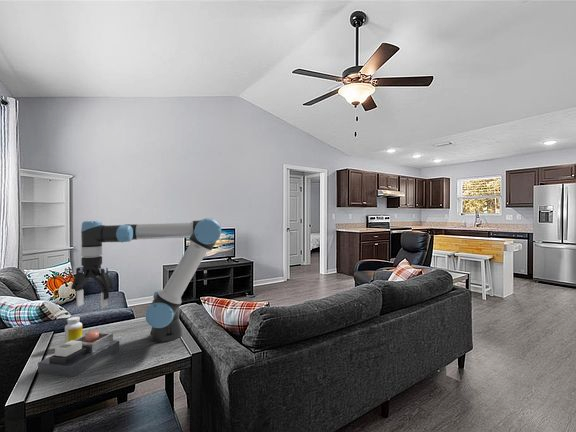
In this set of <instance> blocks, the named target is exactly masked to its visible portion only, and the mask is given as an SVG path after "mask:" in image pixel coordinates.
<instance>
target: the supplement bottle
mask: <svg viewBox="0 0 576 432" xmlns="http://www.w3.org/2000/svg"><path fill="white" fill-rule="evenodd" d="M80 320H81V318H80V316H72V317H69V318H67V321H66V322H67V324H65V325H64V344H65V343H67V342H69V341H71V340H75V339H77V338H80V337H82V336H83V323H82V322H80Z"/></svg>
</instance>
